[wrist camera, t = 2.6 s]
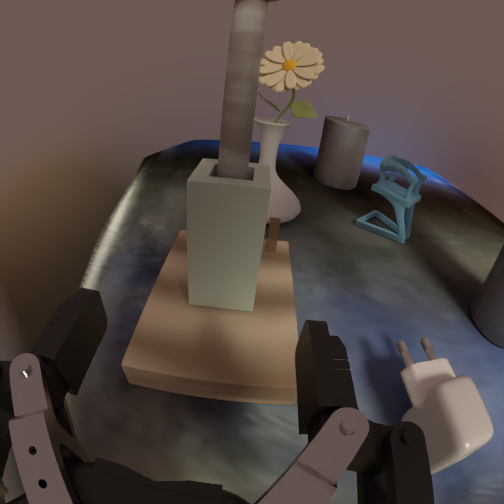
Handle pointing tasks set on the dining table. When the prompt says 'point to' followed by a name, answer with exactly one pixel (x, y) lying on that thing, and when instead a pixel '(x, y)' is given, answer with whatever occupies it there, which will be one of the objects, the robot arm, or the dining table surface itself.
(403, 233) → the chair
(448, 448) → the power adapter
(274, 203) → the flower in vase
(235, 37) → the post
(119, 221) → the dining table surface
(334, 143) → the pillar candle
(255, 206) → the square hollow tube
